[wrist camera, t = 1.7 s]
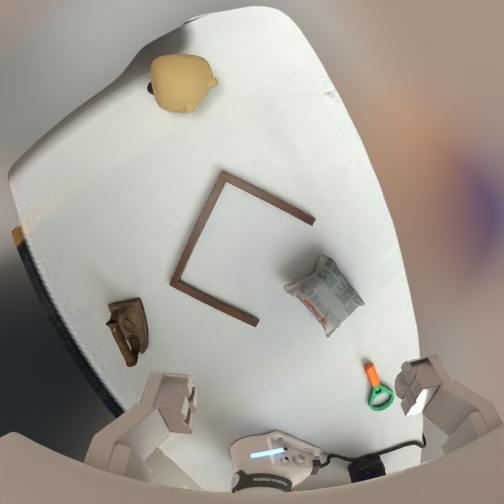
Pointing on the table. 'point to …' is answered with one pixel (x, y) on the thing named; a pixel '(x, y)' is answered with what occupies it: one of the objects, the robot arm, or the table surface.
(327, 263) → the packaged food
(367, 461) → the dark blue cylinder
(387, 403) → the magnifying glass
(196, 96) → the toy pig
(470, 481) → the robot arm
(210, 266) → the table surface
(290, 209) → the bay
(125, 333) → the clothes iron
